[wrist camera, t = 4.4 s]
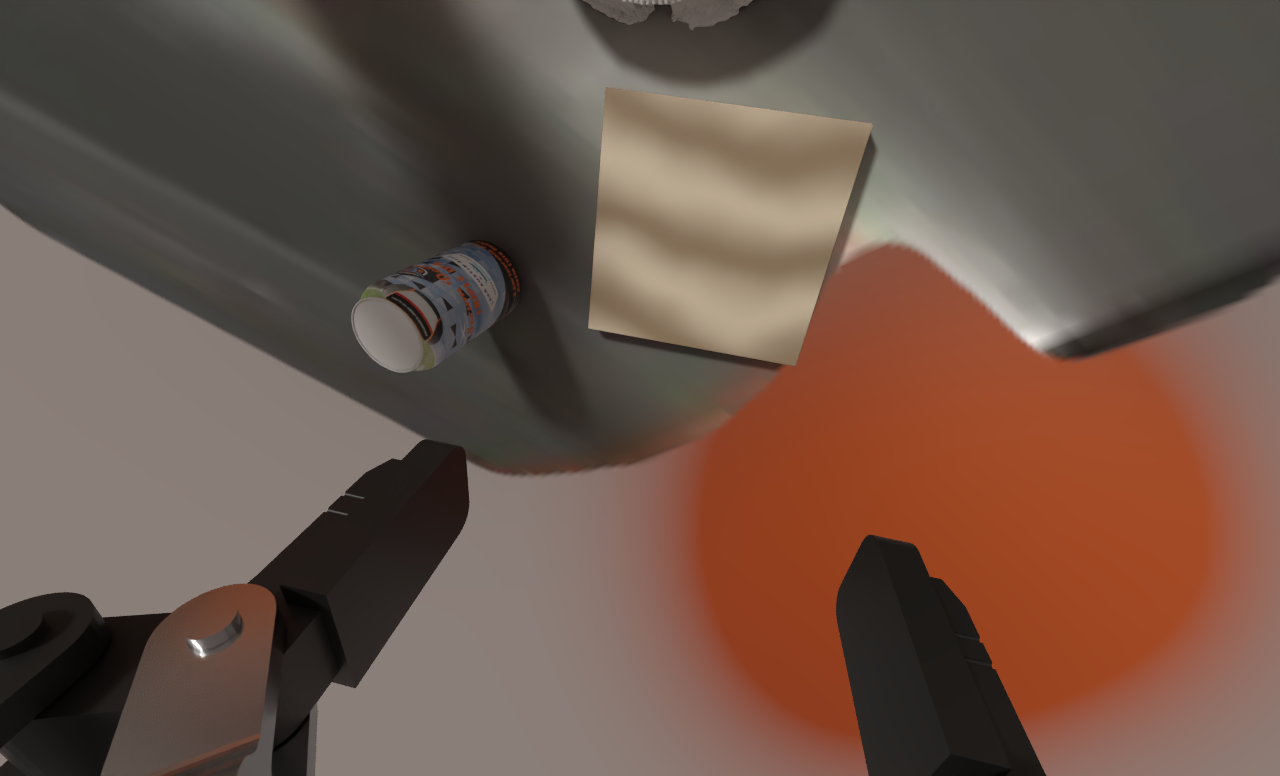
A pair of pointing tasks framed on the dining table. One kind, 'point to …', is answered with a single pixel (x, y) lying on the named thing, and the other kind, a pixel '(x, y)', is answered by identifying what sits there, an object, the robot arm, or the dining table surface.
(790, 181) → the coaster board
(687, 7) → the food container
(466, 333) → the beverage can
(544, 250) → the dining table surface
